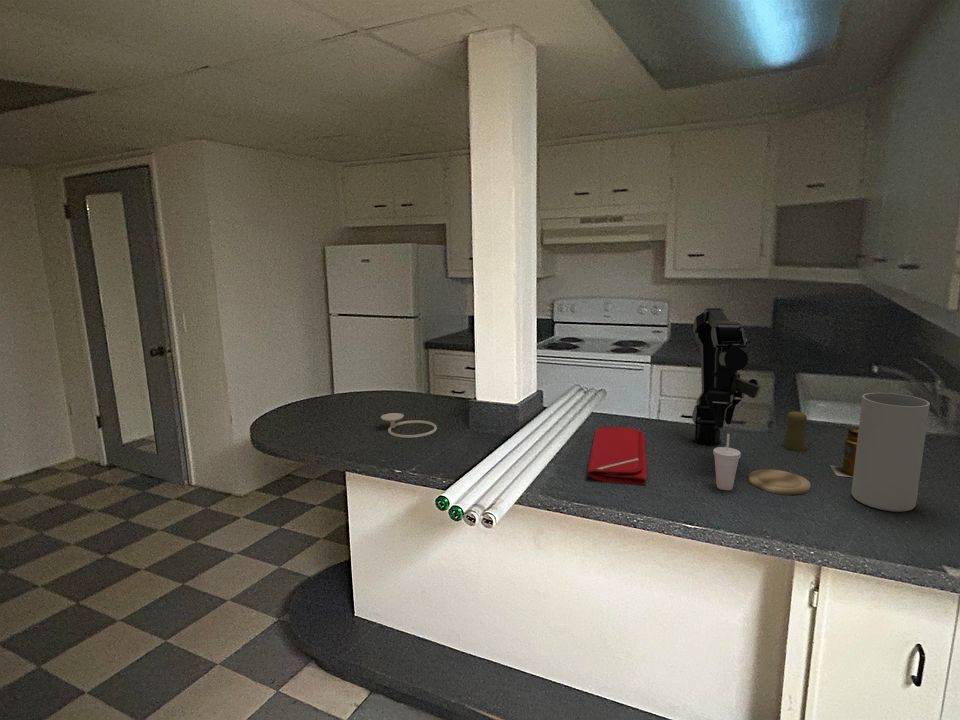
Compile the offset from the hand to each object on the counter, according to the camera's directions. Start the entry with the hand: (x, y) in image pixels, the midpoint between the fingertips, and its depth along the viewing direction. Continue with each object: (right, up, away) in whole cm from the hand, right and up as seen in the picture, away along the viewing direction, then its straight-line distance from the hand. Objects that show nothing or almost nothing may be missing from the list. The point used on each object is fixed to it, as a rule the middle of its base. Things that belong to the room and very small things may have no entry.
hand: (724, 426), depth 154 cm
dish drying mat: (-26, -11, +13) cm, 31 cm away
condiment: (+33, -12, -3) cm, 35 cm away
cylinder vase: (+29, -16, -20) cm, 38 cm away
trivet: (+10, -14, -9) cm, 19 cm away
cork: (+28, -9, +17) cm, 34 cm away
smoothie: (-5, -15, -10) cm, 19 cm away
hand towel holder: (-92, -7, +42) cm, 101 cm away
